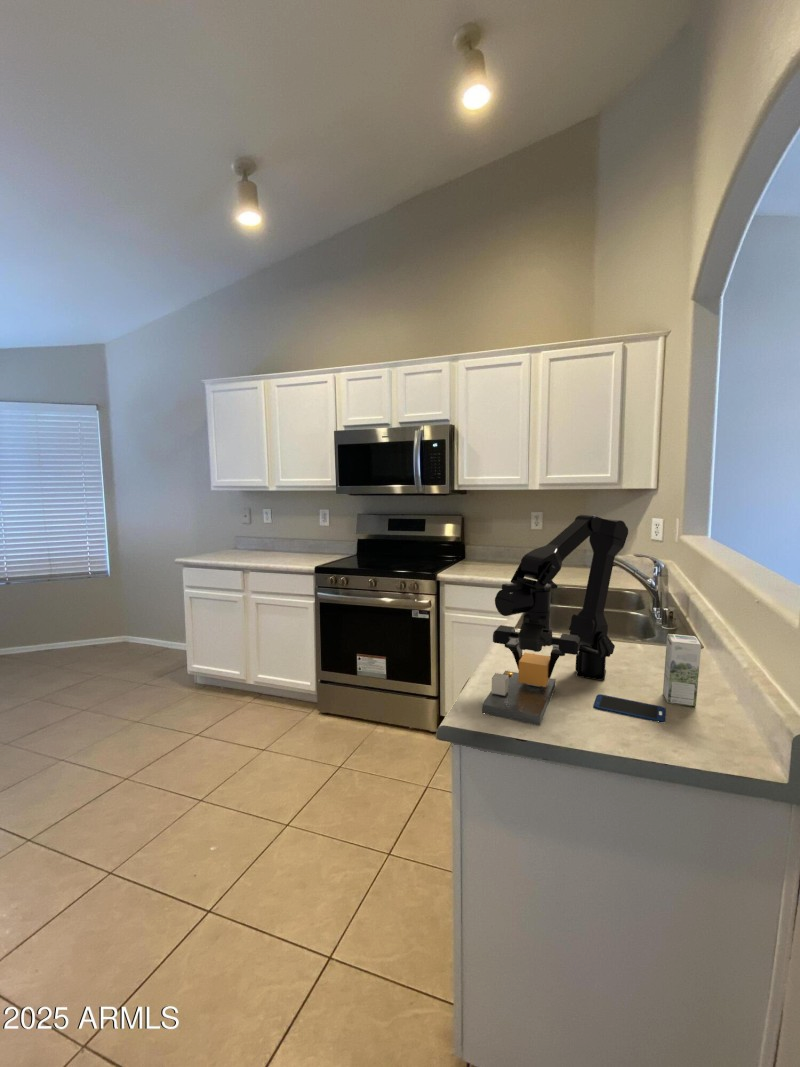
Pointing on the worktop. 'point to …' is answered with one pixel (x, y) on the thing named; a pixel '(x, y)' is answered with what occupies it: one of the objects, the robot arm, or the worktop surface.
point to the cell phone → (630, 708)
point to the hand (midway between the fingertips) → (534, 675)
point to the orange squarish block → (534, 669)
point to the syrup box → (681, 669)
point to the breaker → (500, 684)
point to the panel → (520, 701)
